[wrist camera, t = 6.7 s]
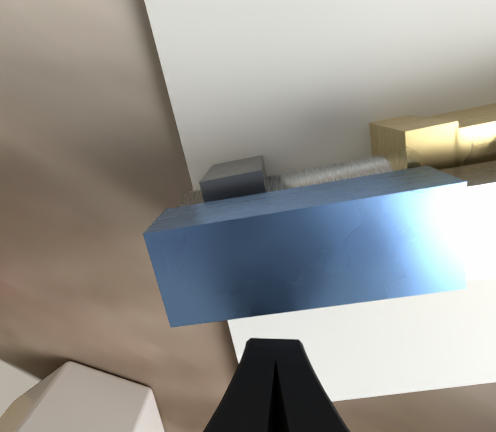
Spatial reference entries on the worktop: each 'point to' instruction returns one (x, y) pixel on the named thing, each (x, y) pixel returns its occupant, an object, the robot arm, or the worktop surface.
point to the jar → (83, 404)
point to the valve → (382, 160)
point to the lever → (326, 244)
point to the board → (337, 151)
